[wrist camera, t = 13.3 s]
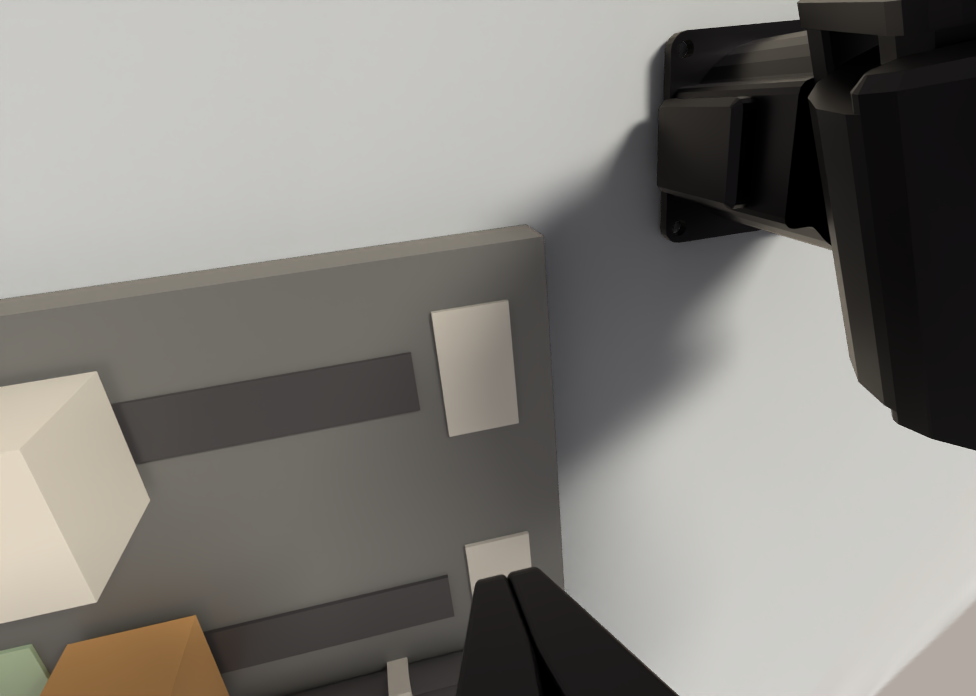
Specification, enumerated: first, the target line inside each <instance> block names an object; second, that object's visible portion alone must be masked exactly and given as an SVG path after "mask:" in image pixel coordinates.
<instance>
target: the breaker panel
mask: <svg viewBox="0 0 976 696" xmlns="http://www.w3.org/2000/svg"><path fill="white" fill-rule="evenodd" d="M94 371H97V373H98V375H99V378H100V380H101V383H102V385H103V388H104V390H105V392H106V395H107V397H108V400H109V402H110V404H111V407H112V409H113V412H114V414H115V417H116V419H117V421H118V424H119V426H120V429H121V431H122V433H123V436H124V438H125V441H126V443H127V446H128V448H129V450H130V453H131V455H132V458H133V460H134V462H135V465H136V467H137V470H138V472H139V475H140V477H141V479H142V482H143V484H144V487H145V489H146V491H147V494H148V496H149V499H150V502H149V504H148V506H147V507H146V509H145V511H144V513H143V515H142V517H141V519H140V521H139V523H138V525H137V526H136V528H135V530H134V532H133V534H132V536H131V538H130V540H129V542H128V544H127V546H126V547H125V549H124V551H123V553H122V555H121V557H120V559H119V561H118V563H117V565H116V567H115V568H114V570H113V572H112V574H111V576H110V578H109V580H108V582H107V584H106V586H105V588H104V589H103V591H102V593H101V595H100V597H99V599H98V601H97V602H96V603H92V604H87V605H83V606H78V607H74V608H69V609H65V610H60V611H56V612H51V613H46V614H42V615H37V616H33V617H28V618H24V619H19V620H15V621H10V622H6V623H1V624H0V696H40V694H41V692H42V691H43V689H44V687H45V685H46V683H47V681H48V679H49V678H50V676H51V674H52V672H53V670H54V668H55V666H56V664H57V663H58V661H59V659H60V657H61V655H62V653H63V651H64V650H65V648H66V646H67V644H72V643H76V642H80V641H85V640H89V639H93V638H98V637H102V636H106V635H111V634H115V633H120V632H124V631H128V630H133V629H137V628H141V627H146V626H150V625H154V624H159V623H163V622H167V621H172V620H176V619H180V618H185V617H189V616H193V615H196V617H197V619H198V621H199V624H200V626H201V629H202V631H203V633H204V636H205V638H206V641H207V643H208V646H209V648H210V650H211V653H212V655H213V658H214V660H215V662H216V665H217V667H218V670H219V672H220V674H221V677H222V679H223V682H224V684H225V686H226V689H227V691H228V694H229V696H286V695H290V694H294V693H298V692H302V691H306V690H310V689H313V688H317V687H321V686H325V685H329V684H333V683H337V682H341V681H345V680H349V679H352V678H356V677H360V676H364V675H368V674H372V673H376V672H380V671H384V670H387V662H389V661H393V660H397V659H401V658H405V657H407V659H408V664H411V663H415V662H419V661H423V660H426V659H430V658H434V657H438V656H442V655H446V654H450V653H454V652H458V651H462V650H463V648H464V642H465V637H466V631H467V626H468V620H469V614H470V609H471V603H472V597H473V592H474V586H475V583H476V582H477V581H478V580H479V579H483V578H487V577H492V576H496V575H500V574H503V575H505V576H506V577H508V574H509V573H510V572H512V571H517V570H521V569H525V568H529V567H537V568H539V569H541V570H542V571H543V572H544V573H545V574H546V575H547V576H548V577H549V578H551V579H552V580H553V581H554V582H555V583H556V584H557V585H558V586H559V587H560V588H561V589H563V590H564V576H563V559H562V542H561V525H560V507H559V490H558V473H557V455H556V438H555V421H554V404H553V386H552V369H551V352H550V334H549V317H548V300H547V282H546V265H545V248H544V236H543V235H541V234H540V233H538V232H537V231H535V230H534V229H532V228H531V227H529V226H528V225H526V224H525V225H518V226H511V227H504V228H497V229H490V230H483V231H476V232H469V233H462V234H455V235H448V236H441V237H434V238H427V239H420V240H413V241H406V242H399V243H392V244H385V245H378V246H371V247H364V248H357V249H350V250H343V251H335V252H328V253H321V254H314V255H307V256H300V257H293V258H286V259H279V260H272V261H265V262H258V263H251V264H244V265H237V266H230V267H223V268H216V269H209V270H202V271H195V272H188V273H181V274H174V275H167V276H160V277H153V278H146V279H139V280H132V281H125V282H118V283H111V284H104V285H97V286H90V287H83V288H76V289H69V290H62V291H55V292H48V293H41V294H34V295H27V296H20V297H13V298H6V299H0V387H3V386H9V385H15V384H21V383H27V382H33V381H39V380H46V379H52V378H58V377H64V376H70V375H76V374H82V373H88V372H94Z"/></svg>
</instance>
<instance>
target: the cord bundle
mask: <svg viewBox="0 0 976 696" xmlns="http://www.w3.org/2000/svg"><path fill="white" fill-rule="evenodd" d="M462 654H463V650H462V651H458V652H454V653H450V654H446V655H442V656H438V657H434V658H430V659H426V660H423V661H419V662H415V663H411V664H408V659H407V657H405V658H401V659H397V660H393V661H389V662H387V670H384V671H380V672H376V673H372V674H368V675H364V676H360V677H356V678H352V679H349V680H345V681H341V682H337V683H333V684H329V685H325V686H321V687H317V688H313V689H310V690H306V691H302V692H298V693H294V694H290V695H286V696H455V693H456V688H457V682H458V676H459V671H460V665H461V659H462Z"/></svg>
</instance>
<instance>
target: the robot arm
mask: <svg viewBox="0 0 976 696" xmlns="http://www.w3.org/2000/svg"><path fill="white" fill-rule="evenodd" d="M797 4H798V11H799V17H800V20H793V21H782V22H771V23H760V24H750V25H739V26H728V27H717V28H707V29H696V30H686V31H682V32H678V33H675V34H674V35H673V36H671V37H670V38H669V40H668V42H667V44H666V47H665V60H664V101H663V103H662V105H661V106H660V107H659V115H658V161H657V186H658V187H659V188H660V189H661V223H660V229H661V234H662V235H663V237H664V238H666V239H668V240H670V241H672V242H678V243H679V242H686V241H692V240H699V239H705V238H712V237H718V236H725V235H731V234H738V233H744V232H750V231H757V230H765V231H768V232H772V233H775V234H778V235H782V236H785V237H789V238H792V239H795V240H799V241H802V242H805V243H809V244H812V245H816V246H819V247H822V248H826V249H829V250H832V251H833V257H834V264H835V270H836V276H837V282H838V289H839V295H840V301H841V307H842V313H843V320H844V326H845V332H846V338H847V344H848V351H849V357H850V360H851V363H852V366H853V368H854V371H855V374H856V376H857V379H858V382H859V383H860V384H862V385H863V386H864V387H865V388H866V389H867V390H868V391H869V392H870V393H871V394H873V395H874V396H875V397H876V398H877V399H878V400H879V401H880V402H881V403H883V404H884V405H885V406H887V407H888V408H890V409H891V413H892V417H893V420H894V421H895V422H896V423H898V424H899V425H902V426H904V427H906V428H908V429H911V430H913V431H915V432H917V433H920V434H922V435H924V436H926V437H929V438H931V439H935V440H938V441H942V442H946V443H950V444H953V445H957V446H961V447H965V448H968V449H972V450H976V0H800V1H798V2H797ZM682 41H683V42H684V43H685V44H686V45H687V52H686V55H685V56H684V57H683V58H682V57H681V56H680V55H679V50H678V49H679V45H680V44H681V42H682ZM678 221H680V229H679V230H678V231H677V232H676V233H673V225H674V224H675V223H676V222H678ZM455 696H679V695H678V694H677V693H676V692H674V691H673V690H672V689H671V688H670V687H669V686H668V685H667V684H666V683H665V682H663V681H662V680H661V679H660V678H659V677H658V676H657V675H656V674H655V673H654V672H653V671H651V670H650V669H649V668H648V667H647V666H646V665H645V664H644V663H643V662H642V661H640V660H639V659H638V658H637V657H636V656H635V655H634V654H633V653H632V652H631V651H629V650H628V649H627V648H626V647H625V646H624V645H623V644H622V643H621V642H620V641H619V640H617V639H616V638H615V637H614V636H613V635H612V634H611V633H610V632H609V631H608V630H606V629H605V628H604V627H603V626H602V625H601V624H600V623H599V622H598V621H597V620H595V619H594V618H593V617H592V616H591V615H590V614H589V613H588V612H587V611H586V610H585V609H583V608H582V607H581V606H580V605H579V604H578V603H577V602H576V601H575V600H574V599H572V598H571V597H570V596H569V595H568V594H567V593H566V592H565V591H564V590H563V589H561V588H560V587H559V586H558V585H557V584H556V583H555V582H554V581H553V580H552V579H551V578H549V577H548V576H547V575H546V574H545V573H544V572H543V571H542V570H541V569H539V568H537V567H529V568H525V569H521V570H517V571H512V572H510V573H509V574H508V577H506V576H505V575H503V574H500V575H496V576H492V577H487V578H483V579H479V580H478V581H477V582H476V583H475V586H474V592H473V597H472V603H471V609H470V614H469V620H468V626H467V631H466V637H465V642H464V648H463V654H462V659H461V665H460V671H459V676H458V682H457V688H456V693H455Z"/></svg>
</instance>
